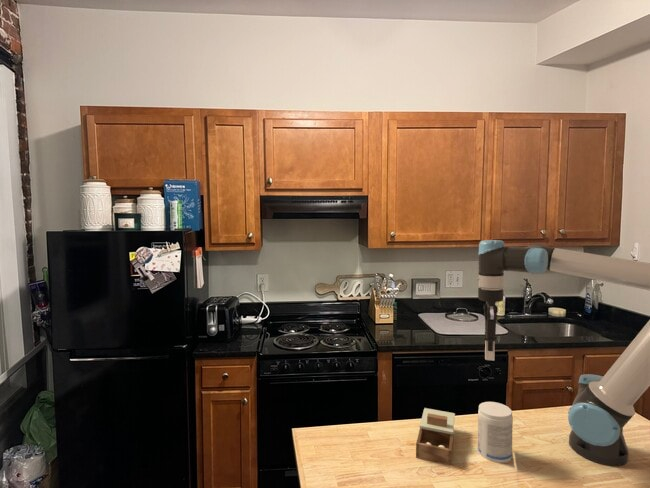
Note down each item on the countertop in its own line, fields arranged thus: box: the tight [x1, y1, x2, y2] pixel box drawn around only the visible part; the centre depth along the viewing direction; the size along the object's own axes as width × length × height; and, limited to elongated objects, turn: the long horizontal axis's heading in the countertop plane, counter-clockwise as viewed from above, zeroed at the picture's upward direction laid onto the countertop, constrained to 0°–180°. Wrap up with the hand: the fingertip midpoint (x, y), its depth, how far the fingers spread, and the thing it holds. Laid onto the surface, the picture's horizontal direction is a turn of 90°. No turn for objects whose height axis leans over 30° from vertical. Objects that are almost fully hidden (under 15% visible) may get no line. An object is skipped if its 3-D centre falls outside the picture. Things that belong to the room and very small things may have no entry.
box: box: [415, 427, 454, 466], centre depth 120 cm, size 10×12×5 cm
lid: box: [419, 407, 456, 436], centre depth 128 cm, size 10×12×3 cm
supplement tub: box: [477, 401, 514, 464], centre depth 119 cm, size 10×10×15 cm
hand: (489, 359), depth 128 cm, fingers closed
